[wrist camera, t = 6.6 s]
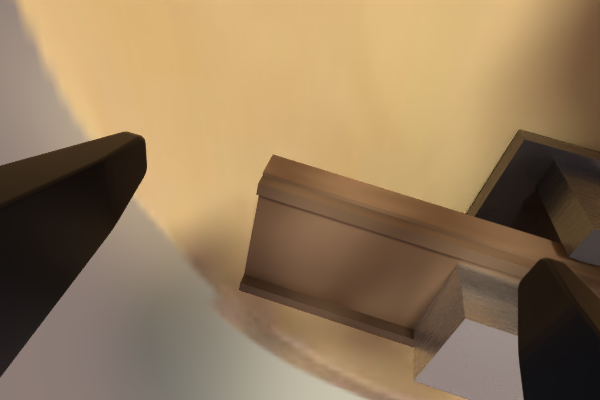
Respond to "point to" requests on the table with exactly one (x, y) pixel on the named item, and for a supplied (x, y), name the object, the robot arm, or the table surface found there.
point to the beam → (374, 250)
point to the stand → (546, 194)
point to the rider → (470, 337)
